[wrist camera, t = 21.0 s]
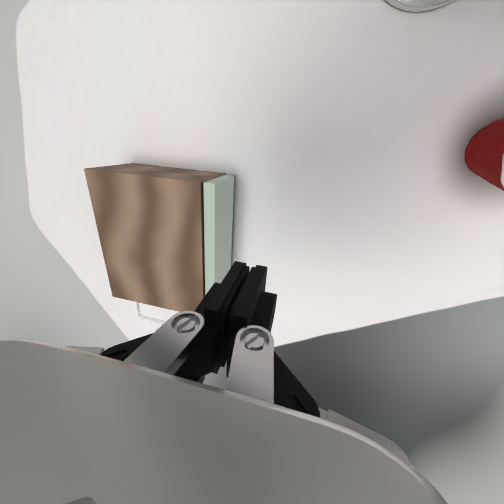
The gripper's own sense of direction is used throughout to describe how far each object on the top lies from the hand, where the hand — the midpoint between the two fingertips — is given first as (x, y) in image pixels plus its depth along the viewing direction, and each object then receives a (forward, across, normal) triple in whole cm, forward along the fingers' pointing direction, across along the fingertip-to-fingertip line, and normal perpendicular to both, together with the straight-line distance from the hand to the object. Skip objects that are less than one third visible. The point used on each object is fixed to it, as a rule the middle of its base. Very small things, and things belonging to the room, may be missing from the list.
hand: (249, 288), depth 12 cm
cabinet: (+25, +18, +8) cm, 32 cm away
